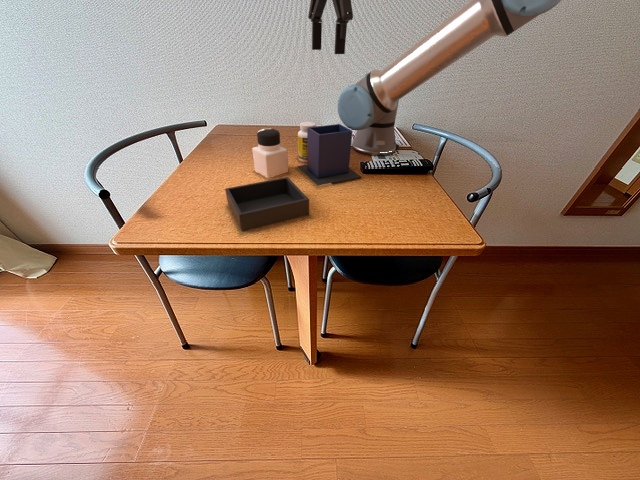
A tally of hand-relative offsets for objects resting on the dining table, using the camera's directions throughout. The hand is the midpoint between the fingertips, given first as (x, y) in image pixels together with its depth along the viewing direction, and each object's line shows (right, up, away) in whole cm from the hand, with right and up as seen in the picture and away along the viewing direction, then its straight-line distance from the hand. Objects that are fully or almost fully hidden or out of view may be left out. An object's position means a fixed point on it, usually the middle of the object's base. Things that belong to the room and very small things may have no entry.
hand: (327, 51), depth 81 cm
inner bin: (0, -33, +3) cm, 33 cm away
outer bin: (-14, -46, -14) cm, 51 cm away
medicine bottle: (-16, -34, +3) cm, 37 cm away
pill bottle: (-6, -27, +12) cm, 30 cm away
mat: (0, -33, +4) cm, 34 cm away
